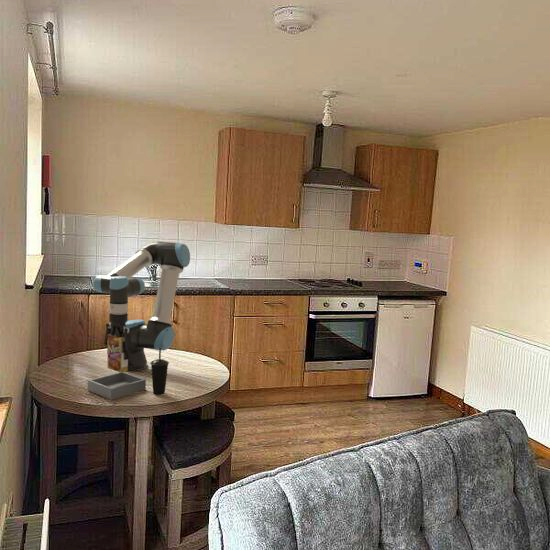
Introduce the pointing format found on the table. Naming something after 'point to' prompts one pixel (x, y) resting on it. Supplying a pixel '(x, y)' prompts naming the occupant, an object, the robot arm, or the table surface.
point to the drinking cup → (159, 374)
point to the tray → (116, 385)
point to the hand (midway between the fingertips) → (117, 364)
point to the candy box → (115, 353)
